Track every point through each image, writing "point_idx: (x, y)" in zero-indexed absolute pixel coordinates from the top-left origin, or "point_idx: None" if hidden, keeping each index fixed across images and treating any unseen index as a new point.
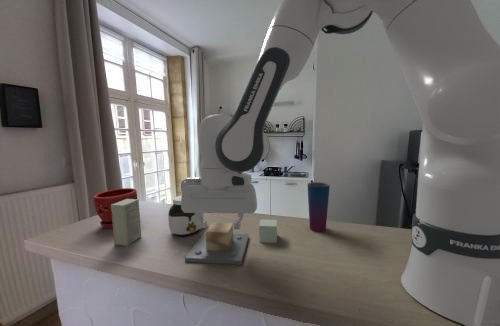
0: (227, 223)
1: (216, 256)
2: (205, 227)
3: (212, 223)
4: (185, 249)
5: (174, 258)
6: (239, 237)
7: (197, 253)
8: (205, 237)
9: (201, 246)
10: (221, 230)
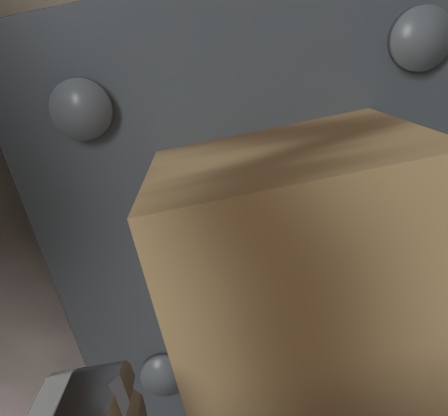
0: (390, 172)
1: None
2: (142, 411)
3: (142, 240)
4: (3, 305)
5: (24, 408)
6: (430, 51)
7: (171, 394)
8: (53, 138)
9: (129, 294)
10: (377, 393)
